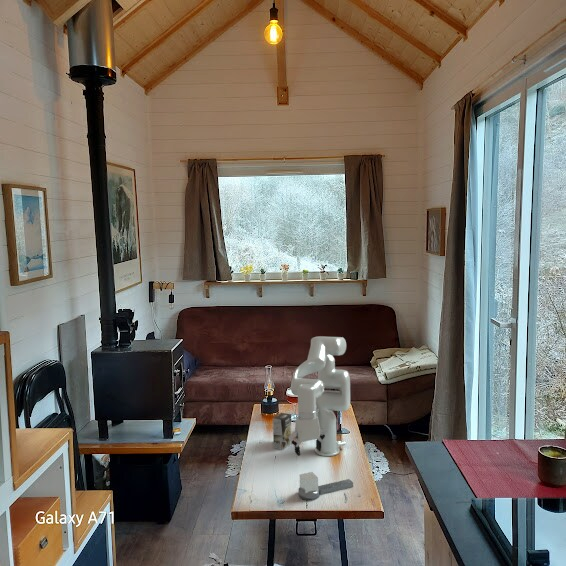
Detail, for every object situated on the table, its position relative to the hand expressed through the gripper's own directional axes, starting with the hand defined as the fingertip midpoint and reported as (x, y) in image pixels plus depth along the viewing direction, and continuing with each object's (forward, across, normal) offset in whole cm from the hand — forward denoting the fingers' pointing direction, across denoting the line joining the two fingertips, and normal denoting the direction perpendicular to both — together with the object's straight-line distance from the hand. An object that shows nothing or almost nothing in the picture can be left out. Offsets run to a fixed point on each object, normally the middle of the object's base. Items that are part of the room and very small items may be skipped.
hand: (308, 452), depth 226 cm
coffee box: (+20, -8, -51) cm, 55 cm away
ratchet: (+19, -8, 0) cm, 21 cm away
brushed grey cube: (+17, 0, 0) cm, 17 cm away
